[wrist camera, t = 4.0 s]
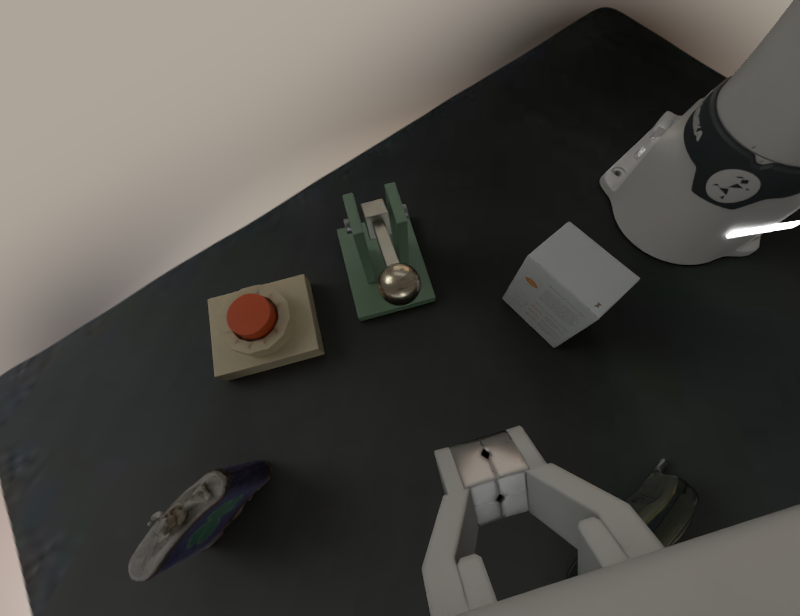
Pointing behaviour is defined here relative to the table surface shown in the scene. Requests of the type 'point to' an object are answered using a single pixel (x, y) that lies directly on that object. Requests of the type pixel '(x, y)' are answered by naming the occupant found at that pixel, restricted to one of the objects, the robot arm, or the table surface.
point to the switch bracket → (380, 257)
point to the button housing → (282, 344)
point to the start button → (251, 316)
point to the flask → (196, 518)
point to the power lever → (390, 258)
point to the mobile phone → (661, 507)
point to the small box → (567, 285)
